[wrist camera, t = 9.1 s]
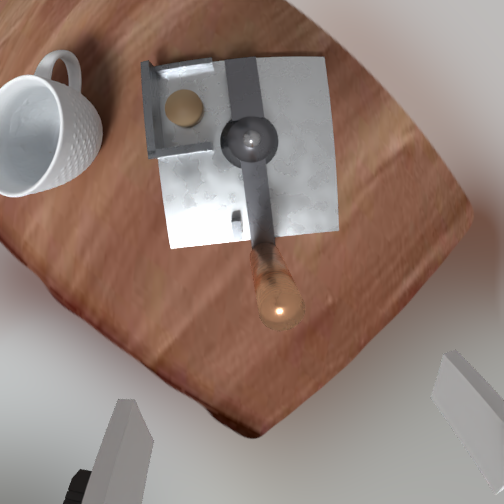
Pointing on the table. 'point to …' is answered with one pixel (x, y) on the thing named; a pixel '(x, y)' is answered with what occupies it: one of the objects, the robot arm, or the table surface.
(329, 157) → the grey flat slab fixture
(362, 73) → the table surface
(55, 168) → the mug
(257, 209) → the lever
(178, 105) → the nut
